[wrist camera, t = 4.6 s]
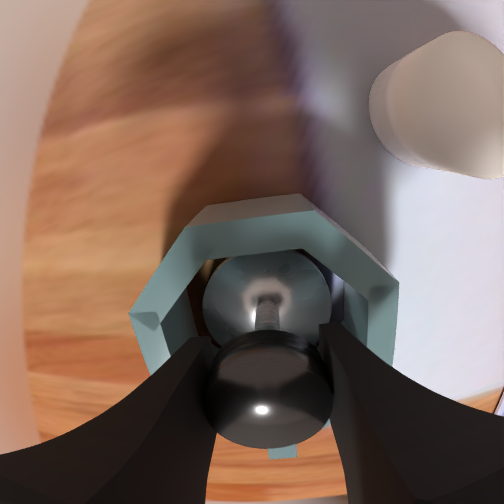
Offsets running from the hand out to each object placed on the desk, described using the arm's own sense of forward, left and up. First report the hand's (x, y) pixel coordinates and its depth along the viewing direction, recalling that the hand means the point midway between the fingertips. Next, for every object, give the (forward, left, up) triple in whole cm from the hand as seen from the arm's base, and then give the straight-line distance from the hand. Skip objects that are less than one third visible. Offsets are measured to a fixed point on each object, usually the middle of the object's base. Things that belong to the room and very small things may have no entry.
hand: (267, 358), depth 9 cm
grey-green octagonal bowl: (0, 0, -4) cm, 4 cm away
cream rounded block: (-7, -7, -4) cm, 11 cm away
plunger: (0, 0, -4) cm, 4 cm away
